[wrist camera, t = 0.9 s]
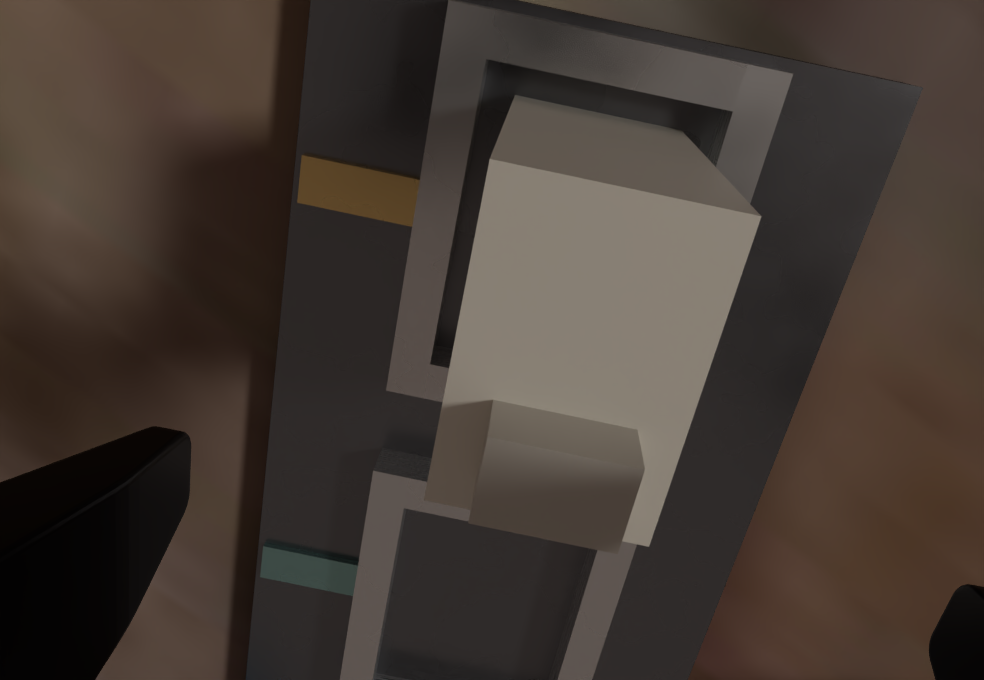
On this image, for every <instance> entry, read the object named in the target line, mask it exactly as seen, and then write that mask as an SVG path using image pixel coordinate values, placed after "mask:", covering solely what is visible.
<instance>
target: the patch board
mask: <svg viewBox="0 0 984 680" xmlns="http://www.w3.org/2000/svg"><path fill="white" fill-rule="evenodd" d="M922 89H923V88H922V87H918V86H914V85H910V84H906V83H902V82H897V81H893V80H888V79H883V78H879V77H874V76H869V75H865V74H860V73H855V72H851V71H846V70H841V69H837V68H832V67H827V66H823V65H818V64H813V63H808V62H804V61H799V60H794V59H790V58H785V57H780V56H776V55H771V54H766V53H762V52H757V51H752V50H748V49H743V48H738V47H734V46H729V45H724V44H720V43H715V42H710V41H706V40H701V39H696V38H692V37H687V36H682V35H678V34H673V33H668V32H664V31H659V30H654V29H650V28H645V27H640V26H636V25H631V24H626V23H622V22H617V21H612V20H608V19H603V18H598V17H594V16H589V15H584V14H580V13H575V12H570V11H566V10H561V9H556V8H552V7H547V6H542V5H538V4H533V3H528V2H524V1H519V0H311V2H310V13H309V23H308V34H307V44H306V54H305V65H304V75H303V86H302V96H301V107H300V117H299V128H298V138H297V148H296V159H295V169H294V180H293V190H292V201H291V211H290V222H289V232H288V242H287V253H286V263H285V274H284V284H283V295H282V305H281V315H280V326H279V336H278V347H277V357H276V368H275V378H274V389H273V399H272V409H271V420H270V430H269V441H268V451H267V462H266V472H265V483H264V493H263V503H262V514H261V524H260V535H259V545H258V556H257V566H256V576H255V587H254V597H253V608H252V618H251V629H250V639H249V650H248V660H247V670H246V680H688V677H689V675H690V672H691V670H692V667H693V665H694V662H695V660H696V657H697V655H698V652H699V650H700V647H701V645H702V642H703V640H704V637H705V635H706V632H707V630H708V627H709V625H710V622H711V620H712V617H713V615H714V612H715V609H716V607H717V604H718V602H719V599H720V597H721V594H722V592H723V589H724V587H725V584H726V582H727V579H728V577H729V574H730V572H731V569H732V567H733V564H734V562H735V559H736V557H737V554H738V552H739V549H740V547H741V544H742V542H743V539H744V537H745V534H746V532H747V529H748V526H749V524H750V521H751V519H752V516H753V514H754V511H755V509H756V506H757V504H758V501H759V499H760V496H761V494H762V491H763V489H764V486H765V484H766V481H767V479H768V476H769V474H770V471H771V469H772V466H773V464H774V461H775V459H776V456H777V454H778V451H779V449H780V446H781V443H782V441H783V438H784V436H785V433H786V431H787V428H788V426H789V423H790V421H791V418H792V416H793V413H794V411H795V408H796V406H797V403H798V401H799V398H800V396H801V393H802V391H803V388H804V386H805V383H806V381H807V378H808V376H809V373H810V371H811V368H812V365H813V363H814V360H815V358H816V355H817V353H818V350H819V348H820V345H821V343H822V340H823V338H824V335H825V333H826V330H827V328H828V325H829V323H830V320H831V318H832V315H833V313H834V310H835V308H836V305H837V303H838V300H839V298H840V295H841V293H842V290H843V288H844V285H845V282H846V280H847V277H848V275H849V272H850V270H851V267H852V265H853V262H854V260H855V257H856V255H857V252H858V250H859V247H860V245H861V242H862V240H863V237H864V235H865V232H866V230H867V227H868V225H869V222H870V220H871V217H872V215H873V212H874V210H875V207H876V205H877V202H878V199H879V197H880V194H881V192H882V189H883V187H884V184H885V182H886V179H887V177H888V174H889V172H890V169H891V167H892V164H893V162H894V159H895V157H896V154H897V152H898V149H899V147H900V144H901V142H902V139H903V137H904V134H905V132H906V129H907V127H908V124H909V122H910V119H911V116H912V114H913V111H914V109H915V106H916V104H917V101H918V99H919V96H920V94H921V91H922ZM515 95H518V96H523V97H527V98H532V99H537V100H541V101H546V102H551V103H555V104H560V105H565V106H570V107H574V108H579V109H584V110H588V111H593V112H598V113H602V114H607V115H612V116H617V117H621V118H626V119H631V120H635V121H640V122H645V123H650V124H654V125H659V126H664V127H668V128H673V129H678V130H682V131H683V132H684V134H685V135H686V136H687V137H688V138H689V139H690V140H691V141H692V142H693V143H694V144H695V145H696V146H697V147H698V149H699V150H700V151H701V152H702V153H703V154H704V155H705V156H706V157H707V158H708V159H709V160H710V161H711V163H712V164H713V165H714V166H715V167H716V168H717V169H718V170H719V171H720V172H721V173H722V174H723V175H724V177H725V178H726V179H727V180H728V181H729V182H730V183H731V184H732V185H733V186H734V187H735V188H736V189H737V191H738V192H739V193H740V194H741V195H742V196H743V197H744V198H745V199H746V200H747V201H748V202H749V203H750V205H751V206H752V207H753V208H754V209H755V210H756V211H757V212H758V213H759V214H760V215H761V219H760V222H759V225H758V228H757V231H756V234H755V237H754V240H753V243H752V246H751V249H750V252H749V255H748V257H747V260H746V263H745V266H744V269H743V272H742V275H741V278H740V281H739V284H738V287H737V290H736V293H735V296H734V299H733V302H732V304H731V307H730V310H729V313H728V316H727V319H726V322H725V325H724V328H723V331H722V334H721V337H720V340H719V343H718V346H717V349H716V352H715V354H714V357H713V360H712V363H711V366H710V369H709V372H708V375H707V378H706V381H705V384H704V387H703V390H702V393H701V396H700V399H699V401H698V404H697V407H696V410H695V413H694V416H693V419H692V422H691V425H690V428H689V431H688V434H687V437H686V440H685V443H684V446H683V448H682V451H681V454H680V457H679V460H678V463H677V466H676V469H675V472H674V475H673V478H672V481H671V484H670V487H669V490H668V493H667V495H666V498H665V501H664V504H663V507H662V510H661V513H660V516H659V519H658V522H657V525H656V528H655V531H654V534H653V537H652V540H651V542H650V545H649V547H648V546H643V545H638V544H633V543H628V542H623V541H622V543H621V546H620V549H619V552H618V554H614V553H609V552H604V551H600V550H595V549H590V548H585V547H580V546H575V545H570V544H566V543H561V542H556V541H551V540H546V539H541V538H537V537H532V536H527V535H522V534H517V533H512V532H507V531H503V530H498V529H493V528H488V527H483V526H478V525H474V524H469V523H468V522H469V516H470V510H468V509H464V508H459V507H454V506H449V505H444V504H439V503H435V502H430V501H425V500H424V496H425V491H426V485H427V480H428V475H429V470H430V465H431V460H432V455H433V449H434V444H435V439H436V434H437V429H438V424H439V418H440V413H441V408H442V403H443V398H444V393H445V387H446V382H447V377H448V372H449V367H450V362H451V356H452V351H453V346H454V341H455V336H456V331H457V325H458V320H459V315H460V310H461V305H462V300H463V294H464V289H465V284H466V279H467V274H468V269H469V263H470V258H471V253H472V248H473V243H474V238H475V232H476V227H477V222H478V217H479V212H480V207H481V201H482V196H483V191H484V186H485V181H486V176H487V170H488V165H489V160H490V157H491V154H492V152H493V149H494V147H495V144H496V142H497V139H498V137H499V134H500V132H501V129H502V127H503V124H504V122H505V119H506V117H507V114H508V112H509V109H510V106H511V104H512V101H513V99H514V96H515Z"/></svg>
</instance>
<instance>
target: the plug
mask: <svg viewBox="0 0 984 680" xmlns="http://www.w3.org/2000/svg"><path fill="white" fill-rule="evenodd" d="M760 219H761V215H760V214H759V213H758V212H757V211H756V210H755V209H754V208H753V207H752V206H751V205H750V203H749V202H748V201H747V200H746V199H745V198H744V197H743V196H742V195H741V194H740V193H739V192H738V191H737V189H736V188H735V187H734V186H733V185H732V184H731V183H730V182H729V181H728V180H727V179H726V178H725V177H724V175H723V174H722V173H721V172H720V171H719V170H718V169H717V168H716V167H715V166H714V165H713V164H712V163H711V161H710V160H709V159H708V158H707V157H706V156H705V155H704V154H703V153H702V152H701V151H700V150H699V149H698V147H697V146H696V145H695V144H694V143H693V142H692V141H691V140H690V139H689V138H688V137H687V136H686V135H685V134H684V132H683V131H682V130H678V129H673V128H668V127H664V126H659V125H654V124H650V123H645V122H640V121H635V120H631V119H626V118H621V117H617V116H612V115H607V114H602V113H598V112H593V111H588V110H584V109H579V108H574V107H570V106H565V105H560V104H555V103H551V102H546V101H541V100H537V99H532V98H527V97H523V96H518V95H515V96H514V99H513V101H512V104H511V106H510V109H509V112H508V114H507V117H506V119H505V122H504V124H503V127H502V129H501V132H500V134H499V137H498V139H497V142H496V144H495V147H494V149H493V152H492V154H491V157H490V160H489V165H488V170H487V176H486V181H485V186H484V191H483V196H482V201H481V207H480V212H479V217H478V222H477V227H476V232H475V238H474V243H473V248H472V253H471V258H470V263H469V269H468V274H467V279H466V284H465V289H464V294H463V300H462V305H461V310H460V315H459V320H458V325H457V331H456V336H455V341H454V346H453V351H452V356H451V362H450V367H449V372H448V377H447V382H446V387H445V393H444V398H443V403H442V408H441V413H440V418H439V424H438V429H437V434H436V439H435V444H434V449H433V455H432V460H431V465H430V470H429V475H428V480H427V485H426V491H425V496H424V500H425V501H430V502H435V503H439V504H444V505H449V506H454V507H459V508H464V509H468V510H470V516H469V522H468V523H469V524H474V525H478V526H483V527H488V528H493V529H498V530H503V531H507V532H512V533H517V534H522V535H527V536H532V537H537V538H541V539H546V540H551V541H556V542H561V543H566V544H570V545H575V546H580V547H585V548H590V549H595V550H600V551H604V552H609V553H614V554H618V552H619V549H620V546H621V543H622V541H623V542H628V543H633V544H638V545H643V546H648V547H649V545H650V542H651V540H652V537H653V534H654V531H655V528H656V525H657V522H658V519H659V516H660V513H661V510H662V507H663V504H664V501H665V498H666V495H667V493H668V490H669V487H670V484H671V481H672V478H673V475H674V472H675V469H676V466H677V463H678V460H679V457H680V454H681V451H682V448H683V446H684V443H685V440H686V437H687V434H688V431H689V428H690V425H691V422H692V419H693V416H694V413H695V410H696V407H697V404H698V401H699V399H700V396H701V393H702V390H703V387H704V384H705V381H706V378H707V375H708V372H709V369H710V366H711V363H712V360H713V357H714V354H715V352H716V349H717V346H718V343H719V340H720V337H721V334H722V331H723V328H724V325H725V322H726V319H727V316H728V313H729V310H730V307H731V304H732V302H733V299H734V296H735V293H736V290H737V287H738V284H739V281H740V278H741V275H742V272H743V269H744V266H745V263H746V260H747V257H748V255H749V252H750V249H751V246H752V243H753V240H754V237H755V234H756V231H757V228H758V225H759V222H760Z"/></svg>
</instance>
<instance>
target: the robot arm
mask: <svg viewBox="0 0 984 680" xmlns="http://www.w3.org/2000/svg"><path fill="white" fill-rule="evenodd" d="M190 466H191V441H190V437H189V436H188V434H187V433H185V432H182V431H177V430H172V429H167V428H162V427H157V426H155V427H149V428H146V429H144V430H141V431H138V432H135V433H133V434H130V435H127V436H125V437H122V438H119V439H117V440H114V441H111V442H108V443H106V444H103V445H100V446H98V447H95V448H92V449H90V450H87V451H84V452H81V453H79V454H76V455H73V456H71V457H68V458H65V459H63V460H60V461H57V462H54V463H52V464H49V465H46V466H44V467H41V468H38V469H36V470H33V471H30V472H27V473H25V474H22V475H19V476H17V477H14V478H11V479H8V480H6V481H3V482H0V680H95V679H96V677H97V676H98V674H99V673H100V671H101V670H102V668H103V666H104V665H105V663H106V662H107V660H108V659H109V657H110V655H111V654H112V652H113V651H114V649H115V648H116V646H117V645H118V643H119V641H120V640H121V638H122V636H123V635H124V633H125V631H126V630H127V628H128V626H129V624H130V623H131V621H132V619H133V617H134V615H135V613H136V611H137V609H138V607H139V605H140V603H141V601H142V599H143V597H144V595H145V593H146V591H147V589H148V587H149V585H150V583H151V580H152V578H153V576H154V574H155V572H156V570H157V568H158V566H159V564H160V562H161V560H162V558H163V556H164V554H165V552H166V550H167V548H168V546H169V544H170V542H171V539H172V537H173V535H174V533H175V531H176V529H177V527H178V525H179V523H180V521H181V519H182V517H183V515H184V513H185V510H186V507H187V504H188V500H189V493H190ZM929 656H930V661H931V665H932V669H933V672H934V676H935V680H984V587H981V586H976V585H970V584H966V585H963V586H960V587H959V588H958V589H957V590H956V591H955V592H954V594H953V596H952V597H951V599H950V601H949V603H948V605H947V607H946V609H945V611H944V613H943V615H942V616H941V618H940V620H939V622H938V624H937V626H936V628H935V630H934V632H933V634H932V636H931V639H930V643H929Z"/></svg>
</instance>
